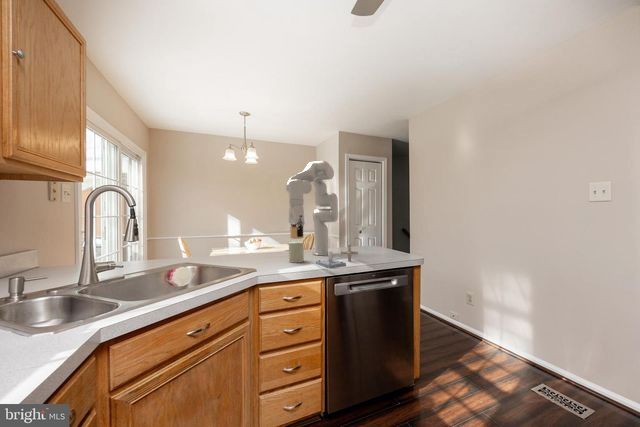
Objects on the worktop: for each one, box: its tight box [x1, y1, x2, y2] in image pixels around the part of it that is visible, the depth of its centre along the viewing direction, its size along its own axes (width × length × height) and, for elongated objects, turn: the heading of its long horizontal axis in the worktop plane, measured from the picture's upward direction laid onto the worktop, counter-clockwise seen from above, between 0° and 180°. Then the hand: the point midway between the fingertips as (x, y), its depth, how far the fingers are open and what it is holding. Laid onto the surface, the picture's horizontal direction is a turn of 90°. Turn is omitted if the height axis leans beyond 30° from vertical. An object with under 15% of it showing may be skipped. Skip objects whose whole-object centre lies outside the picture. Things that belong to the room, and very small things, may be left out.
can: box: [288, 240, 305, 263], centre depth 166 cm, size 9×9×12 cm
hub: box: [289, 226, 304, 240], centre depth 147 cm, size 6×6×6 cm
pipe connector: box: [340, 244, 359, 262], centre depth 163 cm, size 10×10×10 cm
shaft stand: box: [315, 250, 347, 269], centre depth 153 cm, size 14×11×8 cm
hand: (297, 235), depth 147 cm, fingers closed on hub, 6 cm apart
